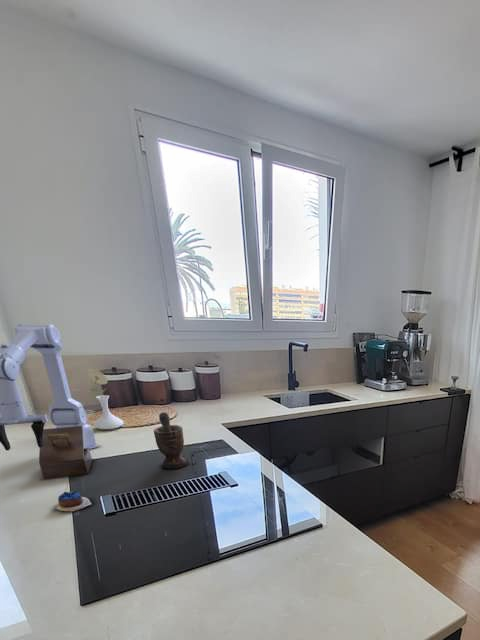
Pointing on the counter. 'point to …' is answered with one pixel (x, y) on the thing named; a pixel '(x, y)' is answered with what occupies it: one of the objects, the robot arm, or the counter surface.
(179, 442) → the mortar and pestle
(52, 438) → the box lid
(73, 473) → the storage box
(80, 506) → the dessert
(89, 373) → the flower in vase
